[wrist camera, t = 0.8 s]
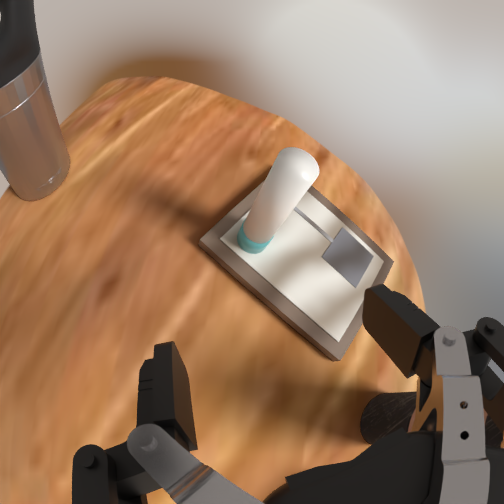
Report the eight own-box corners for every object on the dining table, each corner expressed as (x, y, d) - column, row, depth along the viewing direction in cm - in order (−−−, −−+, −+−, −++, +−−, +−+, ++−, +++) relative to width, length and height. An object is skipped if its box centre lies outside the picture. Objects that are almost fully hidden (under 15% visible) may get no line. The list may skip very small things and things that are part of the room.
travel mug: (351, 446, 26) (494, 476, 8) (366, 387, 29) (515, 376, 12) (394, 446, 27) (524, 459, 9) (407, 393, 30) (539, 380, 12)
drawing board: (198, 245, 31) (199, 238, 29) (280, 169, 38) (285, 161, 36) (333, 361, 30) (341, 360, 28) (387, 265, 37) (395, 260, 35)
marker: (230, 238, 30) (266, 160, 19) (250, 219, 32) (292, 139, 20) (254, 260, 30) (305, 191, 19) (273, 239, 32) (327, 168, 20)
